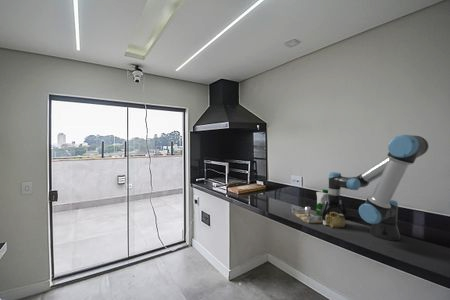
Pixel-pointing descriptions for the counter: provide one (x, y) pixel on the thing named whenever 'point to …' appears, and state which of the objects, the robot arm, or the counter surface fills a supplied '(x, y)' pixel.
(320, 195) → the milk carton
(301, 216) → the bench plate
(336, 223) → the gold square frame
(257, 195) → the counter surface
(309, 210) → the grey metal piece
